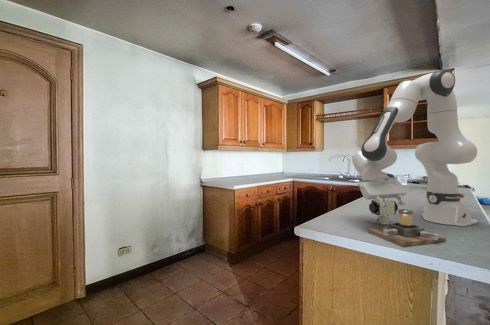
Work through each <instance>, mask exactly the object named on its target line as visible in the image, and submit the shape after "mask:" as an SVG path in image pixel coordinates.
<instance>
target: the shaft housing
mask: <svg viewBox="0 0 490 325" xmlns="http://www.w3.org/2000/svg"><path fill="white" fill-rule="evenodd" d="M368 233H369V234H371V235H373V236H375V237H378V238H381V239H384V240H385V241H388V242H390V243H392V244H395V245H397V246H400V247H403V248H406V247H407V248H408V247H413V246H415V247H416V246H422V245H423V246H424V245H430V244H439V243H446V242H447V237H445V236H442V235H439V233H435V232H429V231H426V230H425V227H424V226H423V227H422V226H419V225H416V224H413V223H412V228H409V229H405V228H402V227H399V221H397V222H389V223H387V224H386V226H383V227H373V228H368Z"/></svg>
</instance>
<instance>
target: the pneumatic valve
mask: <svg viewBox="0 0 490 325" xmlns="http://www.w3.org/2000/svg"><path fill="white" fill-rule="evenodd" d="M381 200H382V201H383V202H385V203H386V204H387V206H386V207H381V206H380V204H378V203H377V202H375V201H374V199H371V202H370V203H369V205H368V210H369V211H370V212H371V214H373V215H376V223H377V224H380V225H383V226H384V225H387V223H391V221H390V220H391V219H390V217H389V216H392V215H394V216H395V215H396V214H397V211H399V204H398V203H397V202H396V201H395V200H391V199H386V198H385V199H381Z"/></svg>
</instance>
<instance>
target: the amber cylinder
mask: <svg viewBox="0 0 490 325" xmlns="http://www.w3.org/2000/svg"><path fill="white" fill-rule="evenodd" d="M398 222H399V227H402V228H405V229H409V228H412V224H413V210H412V209H405V208H401V209H400V208H398Z"/></svg>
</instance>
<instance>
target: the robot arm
mask: <svg viewBox="0 0 490 325" xmlns="http://www.w3.org/2000/svg"><path fill="white" fill-rule="evenodd" d="M455 84H456V76H455V74H454V73H453V72H452V71H450V70H449V69H440V70H436V71H434V72H430V73H427V74H424V75H422V76H420V77H417V78H415V79H412V80H411V79H410V80H404V81H402V82H400V83H399V84H398V86H397V87H396V88H395V90H394V92H393V93H392V96H391V97H390V100H389V101H388V102H389V103H388V104H387V107H386V108H385V109H384V110H383V111H382V113H380V115H379V117H378V119H377V121H376V123H375V124H374V127H373V129H372V130H371V133H370V135H369V136H368V137H367V138H366V139H365V141H364V142H363V143H362V145H361V150H359V151H356V152H355V153H354V155H353V156H352V158H351V161H352V165H353V166H354V168H355V170H356V172H357V173H358V174H359V175H360V176H361V179H362V180H358V182H357V186H358V188H359V189H360V192H361V194H362V197H363V198H364V199H365V200H367V201H368V200H374V201H375V202H377V203H378V204H380V206H381V207H386V206H387V204H386V203H385V202H383V201H382V199H385V200H386V199H394V198H395V199H396V200H398V201H397V205H398V206H400V207H402V206H405V205H406V203H405V201H404V196H406V195H407V190H406V188H405V187H404V185H403V184H402V183H401V182H400V180H397V176H396V175H395V174H392V173H389V172H385V171H382V170H384V169H387V168H388V167H392V165H394V164H395V163H396V162H397V158H398V155H397V152H396V151H395V150H394V149H393V148H392V147H391V146H390V145H389V144H388V143H387V137H388V135H389V133H390V131H391V129H392V127H393V125H394V124H396V123H404V122H407V121H408V120H410V119H411V118H412V117H413V115H414V113H415V112H416V109H417V107H418V103H419V101H424V100H425V101H426V103H427V109H426V112H427V113H426V115H427V116H426V117H427V120H426V121H427V130H428V131H429V132H430V133H431V134H434V135H435V136H436V137H437V139H438V141H428V142H425V143H420V144H418V145H417V146H416V148H415V150H414V156H415V158H416V160H417V161H419V162H420V163H421V164H422V166H423V167H424V169H425V172H426V176H427V190H426V195H425V196H426V197H425V198H426V200H425V201H424V207H423V213H422V214H421V217H422V219H423V220H425V221H428V222H431V223H437V224H439V225H440V224H441V225H449V226H450V225H451V226H457V227H466V226H470V225H475V224H479V220H477V219H476V218H472V210H471V209H470V208H469V207H468V206H467V205H465V204H464V203H463V202H462V201H461V199H464V198H465V194H464V193H459V192H458V189H459V188H458V187H459V186H458V185H459V184H458V183H459V179H458V178H459V177H458V176H457V175H456V173H454V172H452V171H450V170H449V167H448V165H462V164H467V163H472V162H473V161H474V160H475V159H476V158H477V156H478V148H477V146H476V145H475V143H473V142H472V141H470V140H468V139H467V138H466V137H465V136H464V135H463V133H462V132H461V130H460V127H459V119H458V118H459V117H458V104H457V98H456V95H455V92H454V91H453V90H454V88H455Z"/></svg>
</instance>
